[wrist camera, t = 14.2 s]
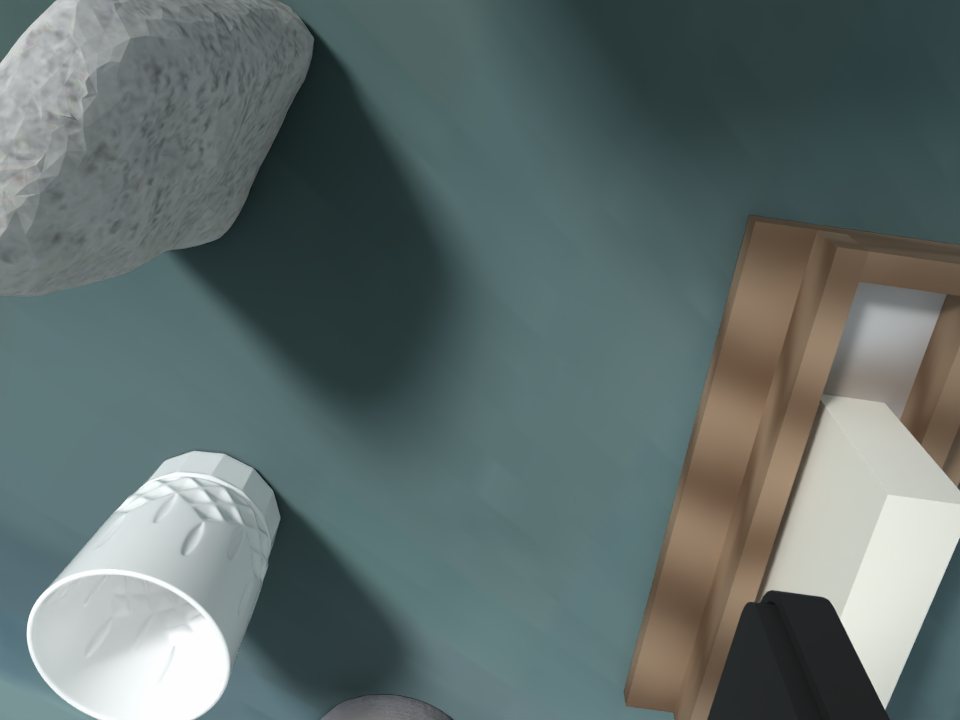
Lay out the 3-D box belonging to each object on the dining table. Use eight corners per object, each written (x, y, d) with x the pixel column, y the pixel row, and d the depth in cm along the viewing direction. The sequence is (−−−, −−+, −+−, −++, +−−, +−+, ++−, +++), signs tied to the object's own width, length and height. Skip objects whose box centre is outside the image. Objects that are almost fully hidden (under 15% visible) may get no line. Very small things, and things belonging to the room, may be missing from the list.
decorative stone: (221, -55, 32) (-1, -81, 19) (353, 50, 34) (236, 98, 20) (88, 174, 36) (-180, 292, 22) (210, 260, 37) (29, 423, 24)
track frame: (749, 215, 35) (771, 237, 32) (1037, 255, 36) (1086, 282, 32) (623, 691, 46) (631, 743, 43) (846, 721, 46) (870, 775, 43)
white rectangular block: (815, 393, 37) (887, 494, 30) (884, 402, 37) (973, 506, 30) (744, 613, 42) (791, 746, 35) (805, 621, 42) (864, 756, 35)
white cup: (319, 487, 42) (262, 629, 33) (252, 598, 45) (183, 757, 35) (169, 410, 40) (65, 536, 31) (110, 530, 43) (-1, 677, 34)
